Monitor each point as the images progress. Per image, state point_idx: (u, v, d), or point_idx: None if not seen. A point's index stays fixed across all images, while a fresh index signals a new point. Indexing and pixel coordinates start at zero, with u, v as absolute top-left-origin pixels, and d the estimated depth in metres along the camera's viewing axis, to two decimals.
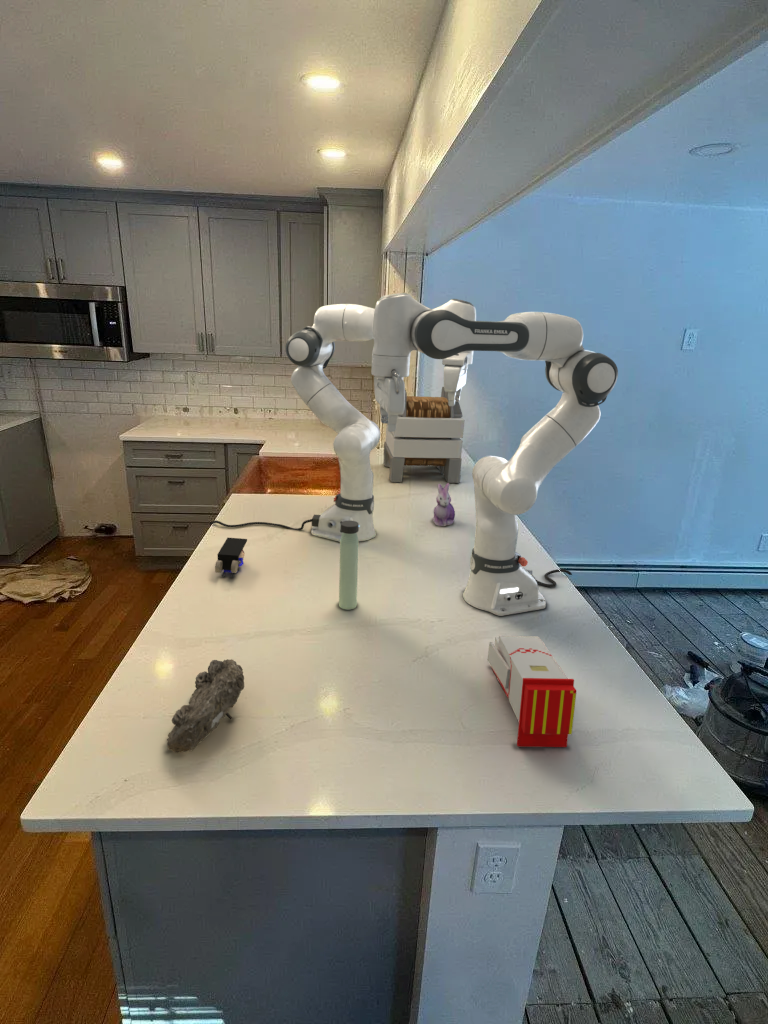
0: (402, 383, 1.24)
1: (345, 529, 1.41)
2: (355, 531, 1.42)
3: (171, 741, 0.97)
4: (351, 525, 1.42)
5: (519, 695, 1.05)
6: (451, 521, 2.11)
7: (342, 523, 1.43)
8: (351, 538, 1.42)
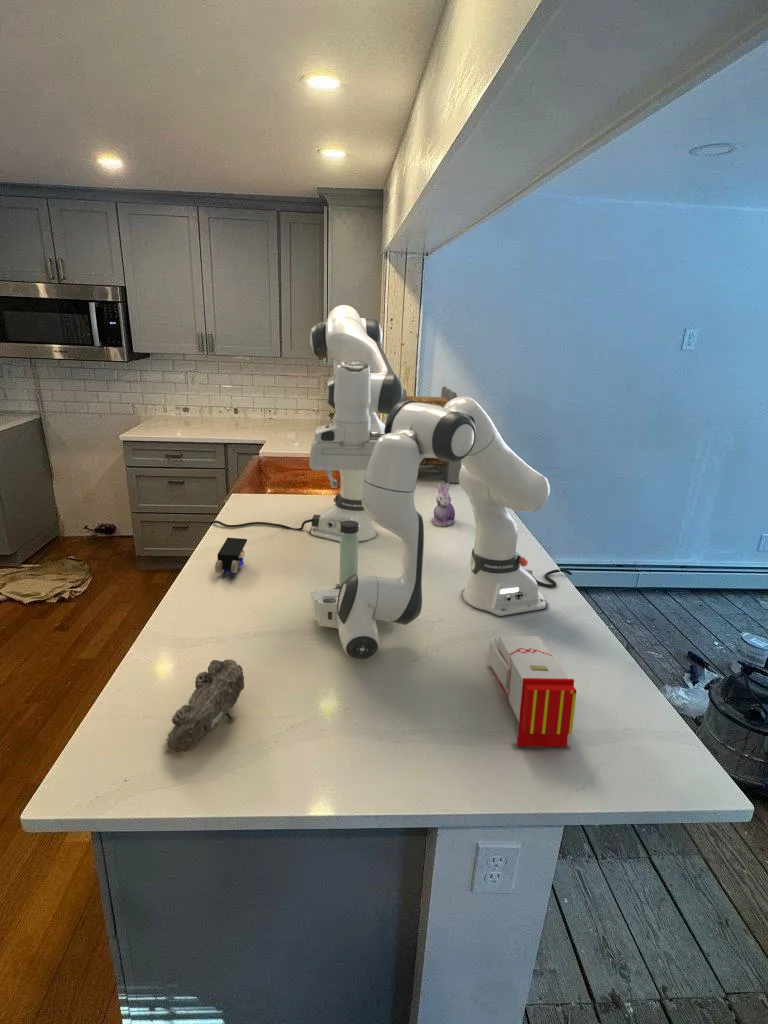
0: None
1: (345, 529, 1.41)
2: (355, 531, 1.42)
3: (171, 741, 0.97)
4: (351, 525, 1.42)
5: (519, 695, 1.05)
6: (451, 521, 2.11)
7: (342, 523, 1.43)
8: (351, 538, 1.42)
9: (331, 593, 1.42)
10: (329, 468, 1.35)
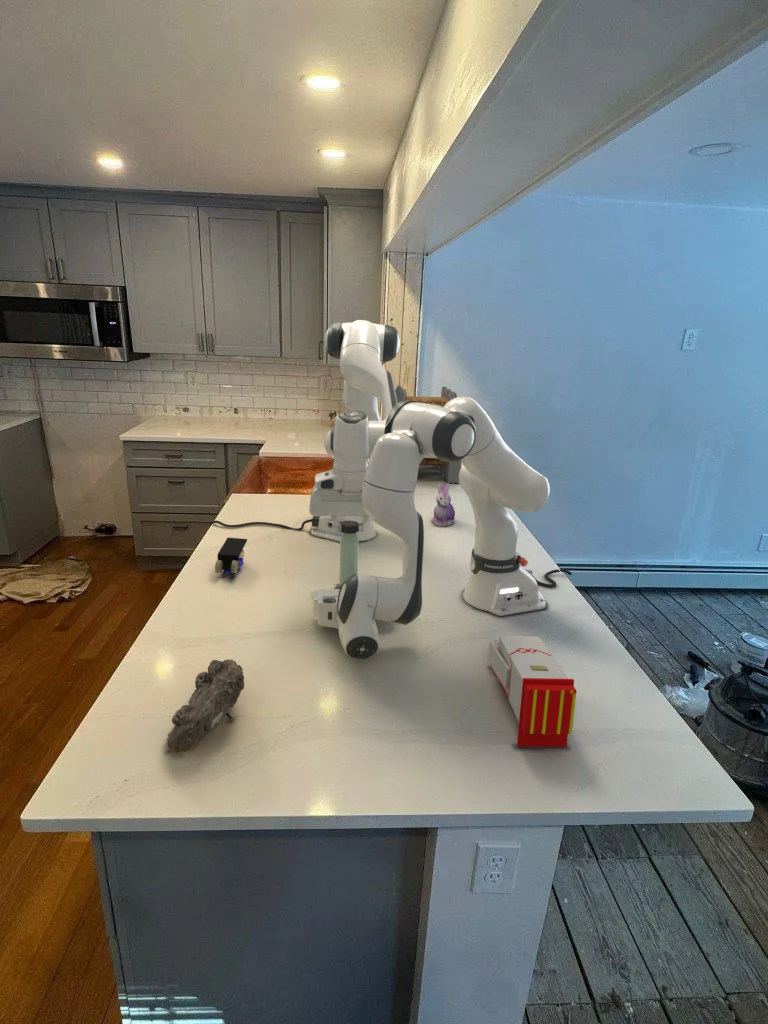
0: None
1: (345, 529, 1.41)
2: (355, 531, 1.42)
3: (171, 741, 0.97)
4: (351, 525, 1.42)
5: (519, 695, 1.05)
6: (451, 521, 2.11)
7: (342, 523, 1.43)
8: (351, 538, 1.42)
9: (331, 593, 1.41)
10: (328, 514, 1.39)
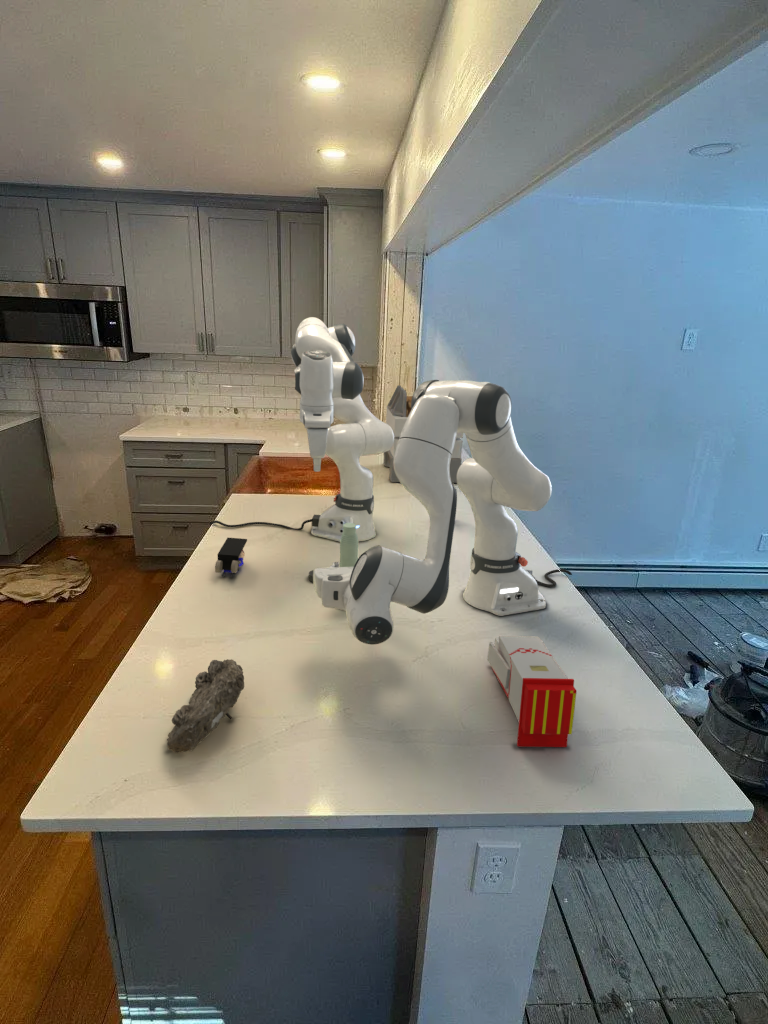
0: None
1: None
2: None
3: (171, 741, 0.97)
4: None
5: (519, 695, 1.05)
6: None
7: None
8: (351, 538, 1.42)
9: (337, 571, 1.24)
10: None
